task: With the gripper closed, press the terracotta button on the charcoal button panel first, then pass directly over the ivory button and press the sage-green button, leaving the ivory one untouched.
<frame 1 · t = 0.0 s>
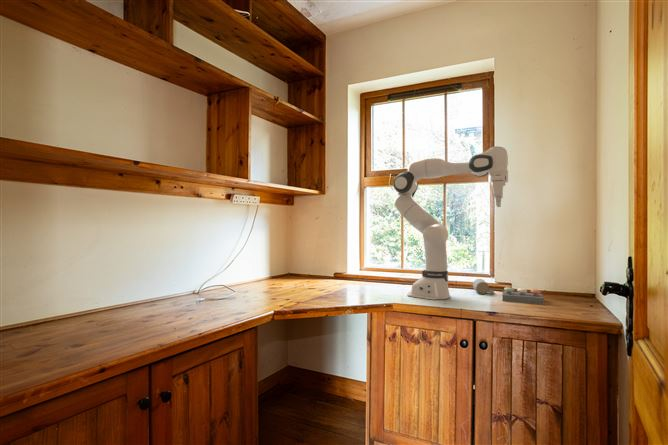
hand: (498, 206, 171), 48 cm above the worktop, fingers open, 8 cm apart
ivory button: (522, 293, 175), point 4 cm above the worktop, slide at 0.0 cm
ceramic mug: (483, 293, 194), on the worktop
terracotta button: (535, 294, 172), point 4 cm above the worktop, slide at 0.0 cm
button panel: (522, 300, 174), on the worktop
sage button: (509, 292, 177), point 4 cm above the worktop, slide at 0.0 cm
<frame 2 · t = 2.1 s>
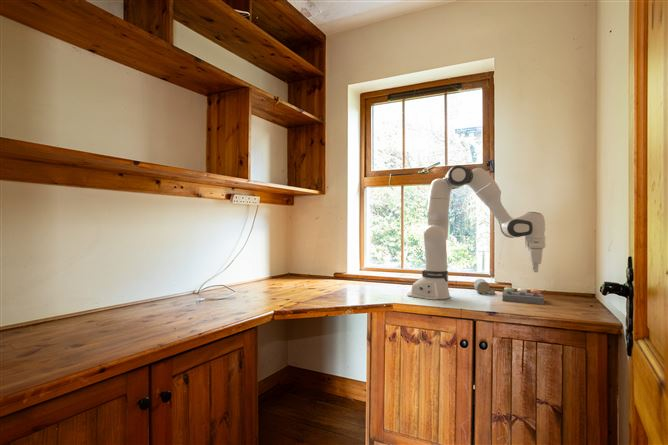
hand: (535, 271, 172), 15 cm above the worktop, fingers open, 6 cm apart
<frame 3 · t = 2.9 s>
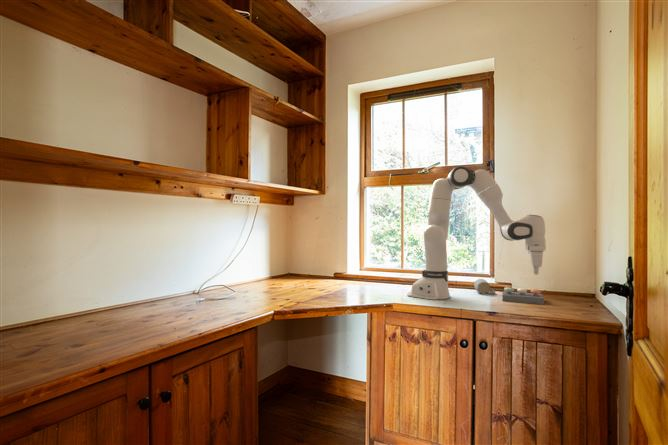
hand: (536, 274, 172), 14 cm above the worktop, fingers closed
nothing on the worktop moved.
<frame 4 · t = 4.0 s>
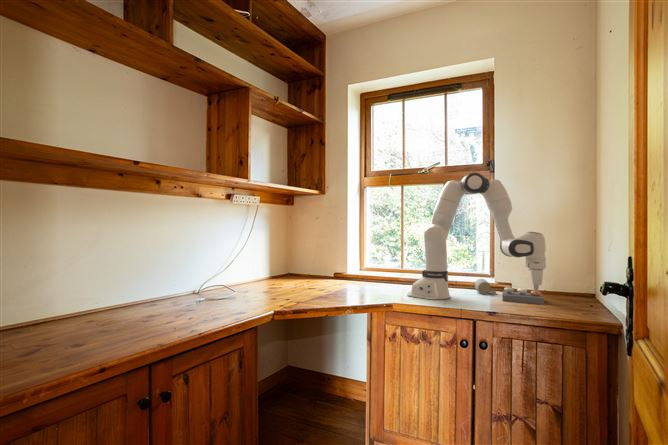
hand: (536, 291, 172), 5 cm above the worktop, fingers closed, pressing on terracotta button
terracotta button: (535, 295, 172), point 3 cm above the worktop, slide at 0.8 cm, touching gripper
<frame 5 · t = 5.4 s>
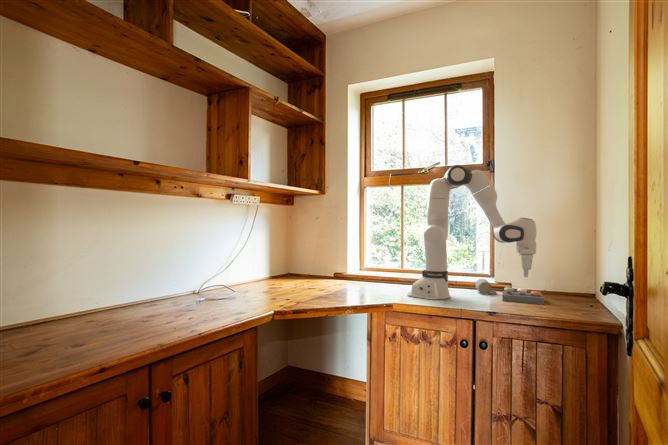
hand: (525, 276, 174), 12 cm above the worktop, fingers closed
terracotta button: (535, 296, 172), point 3 cm above the worktop, slide at 1.0 cm
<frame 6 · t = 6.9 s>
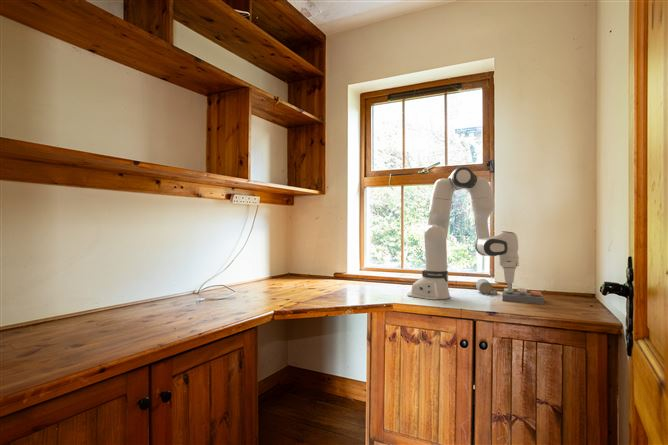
hand: (509, 289, 177), 5 cm above the worktop, fingers closed, pressing on sage button
sage button: (509, 293, 177), point 3 cm above the worktop, slide at 0.5 cm, touching gripper
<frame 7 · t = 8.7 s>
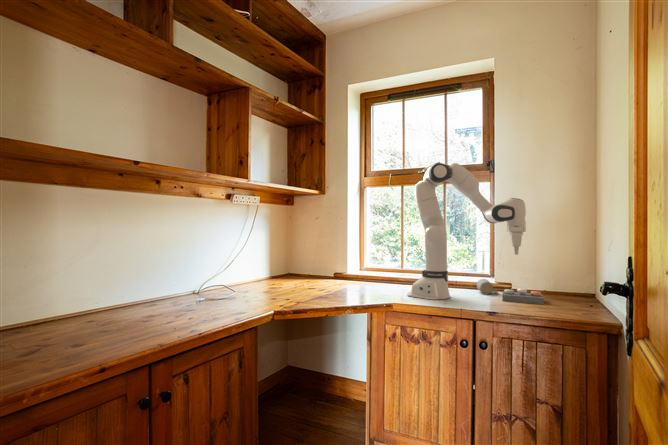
hand: (516, 254, 182), 23 cm above the worktop, fingers closed
sage button: (509, 294, 177), point 3 cm above the worktop, slide at 1.0 cm
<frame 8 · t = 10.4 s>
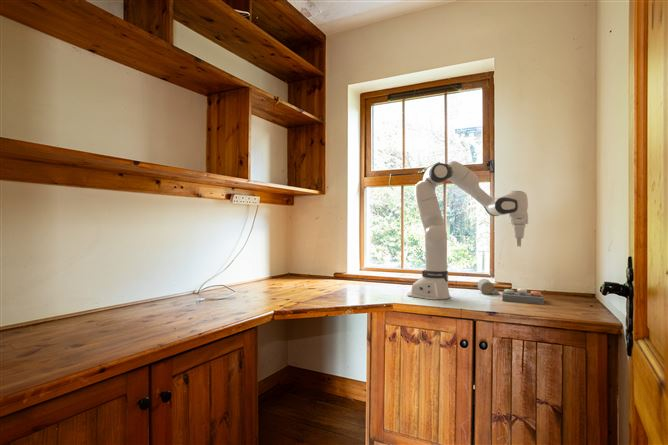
hand: (519, 246, 184), 27 cm above the worktop, fingers closed
at the end: terracotta button slide at 1.0 cm; sage button slide at 1.0 cm; ivory button slide at 0.0 cm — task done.
